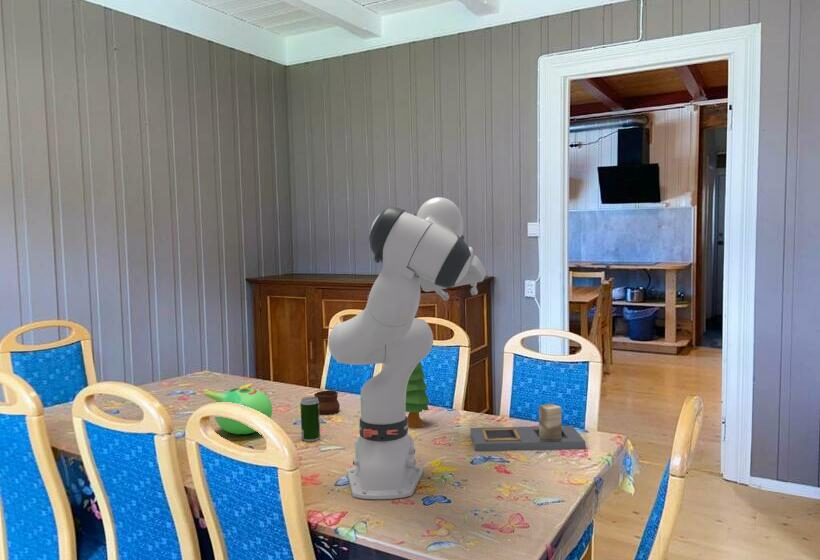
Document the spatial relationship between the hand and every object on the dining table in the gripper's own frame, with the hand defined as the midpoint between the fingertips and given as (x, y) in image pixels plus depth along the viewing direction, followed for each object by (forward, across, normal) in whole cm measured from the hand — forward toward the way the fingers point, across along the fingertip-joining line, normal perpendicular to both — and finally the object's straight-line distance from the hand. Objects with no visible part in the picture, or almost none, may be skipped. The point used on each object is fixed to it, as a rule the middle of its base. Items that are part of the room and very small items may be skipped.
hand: (460, 296), depth 188 cm
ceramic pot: (+26, -56, -18) cm, 64 cm away
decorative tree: (+31, -23, -21) cm, 43 cm away
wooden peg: (+38, +19, -23) cm, 48 cm away
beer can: (+14, -44, -40) cm, 61 cm away
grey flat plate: (+36, +13, -25) cm, 45 cm away
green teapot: (+8, -66, -42) cm, 79 cm away
